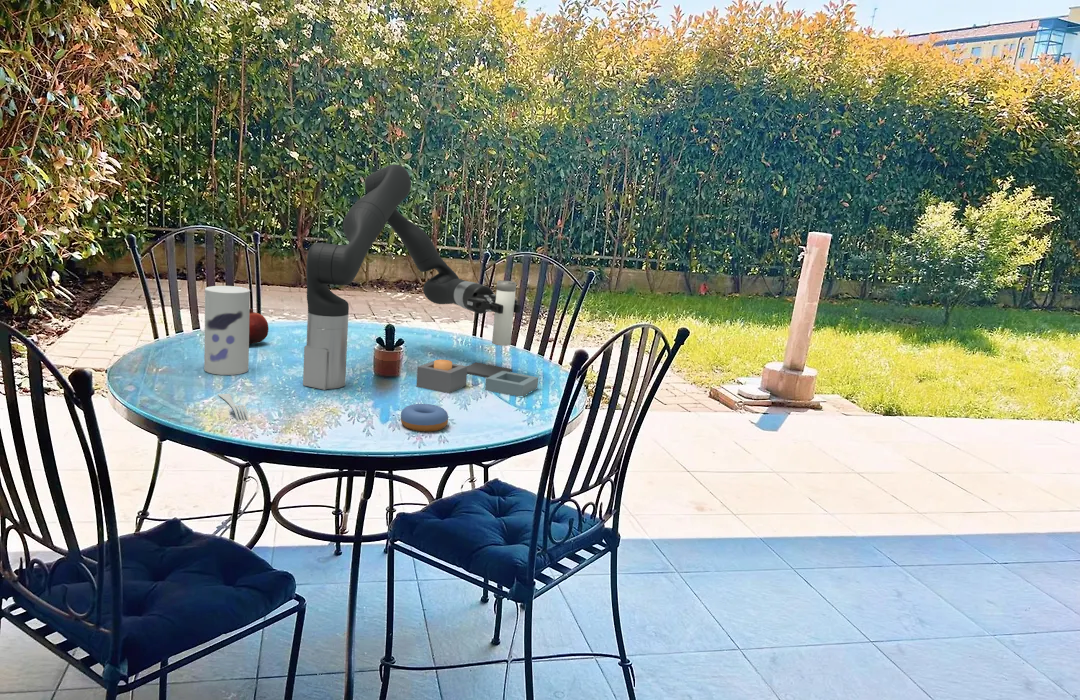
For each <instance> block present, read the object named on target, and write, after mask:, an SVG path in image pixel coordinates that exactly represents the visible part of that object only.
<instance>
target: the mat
mask: <svg viewBox="0 0 1080 700" xmlns="http://www.w3.org/2000/svg"><path fill="white" fill-rule="evenodd" d="M466 366H467V375H470V376H471V375H472V376H477V377H483V378H488V377H490V376H492V375H494V374H496V373H499V372H501V371H507V372H510V371H511V372H513V369H512V368H508V367H503V366H497V365H493V364H488V363H482V362H473V363H471V364H468V365H466Z"/></svg>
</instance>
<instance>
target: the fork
mask: <svg viewBox="0 0 1080 700" xmlns="http://www.w3.org/2000/svg"><path fill="white" fill-rule="evenodd" d="M217 396H219V397H220V398H222V399H223V400H224V401H225V402H226V403H228V404H229V407H231V408H232V410H233V412H234V414H235V417H236V419H237V421H238V422H240V420H241V422H246V421H247V422H249V416H248V415H249V414H248V411H247V407H246V405H245V404H237V405H236V404H235V403H234V400H233V398H232V397H233V396H232V395H231V393H218V394H217Z"/></svg>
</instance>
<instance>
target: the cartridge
mask: <svg viewBox="0 0 1080 700" xmlns="http://www.w3.org/2000/svg"><path fill="white" fill-rule="evenodd" d="M516 291H517V282H515V281H511V280H497V282H496V292H495V293H496V294H495V295H496V303H498V304H501V305H503V313H502V314H499V313H496V312H494V316H493V317H494V318H493V325H492V326H493V329H492V339H491V340H492V341H491V343H492V345H495V346H501V347H502V346H503V347H507V346H509V347H510V346H511V343H512V335H513V334H512V333H513V321H514V313H515V312H514V302H515V300H516Z"/></svg>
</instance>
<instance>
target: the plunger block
mask: <svg viewBox="0 0 1080 700" xmlns="http://www.w3.org/2000/svg"><path fill="white" fill-rule="evenodd" d="M434 361H435V360H432V361H430V362H428V363H424V364H421V365H418V366H417V371H416V372H417V374H416V385H415V386H416V387H417V388H421V389H422V388H423V389H426V390H431V391H435V392H436V391H437V392H440V391H441V393H445V392H447V394H451V393H453V392H454V391H457V389H458V390H460V389H462V388H464V387H467V379H468V377H467V376H468V374H467V366H468V365H462V364H458V363H453V362H452V369H450V370H448V371H447V370H442V369H437V368H434ZM461 387H462V388H461ZM459 388H460V389H459ZM452 391H453V392H452ZM450 392H451V393H450Z"/></svg>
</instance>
